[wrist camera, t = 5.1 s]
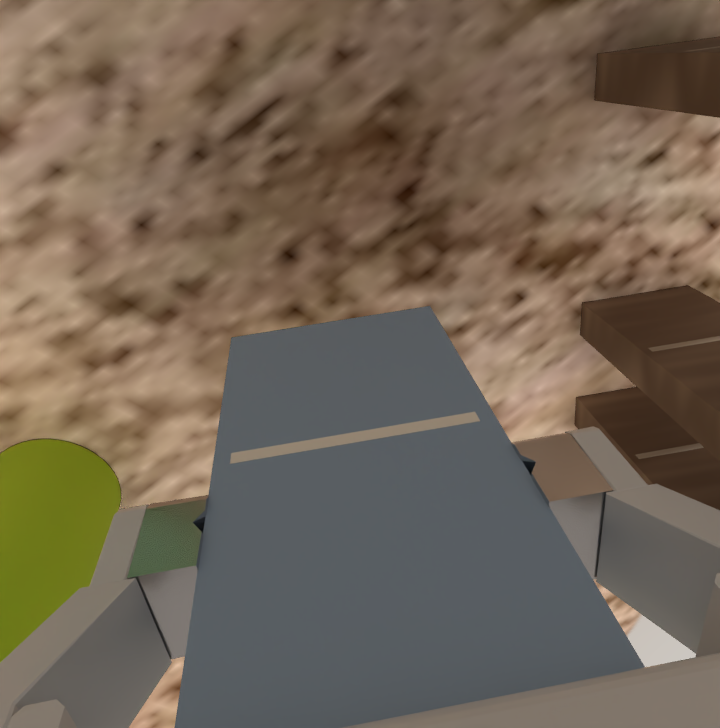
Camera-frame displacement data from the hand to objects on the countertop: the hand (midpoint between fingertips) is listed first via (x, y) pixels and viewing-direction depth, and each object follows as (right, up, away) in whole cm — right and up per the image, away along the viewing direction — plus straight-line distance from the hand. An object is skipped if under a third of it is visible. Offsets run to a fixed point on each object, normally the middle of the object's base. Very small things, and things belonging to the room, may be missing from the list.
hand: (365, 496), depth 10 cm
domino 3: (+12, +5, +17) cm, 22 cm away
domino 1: (-1, +3, +5) cm, 6 cm away
